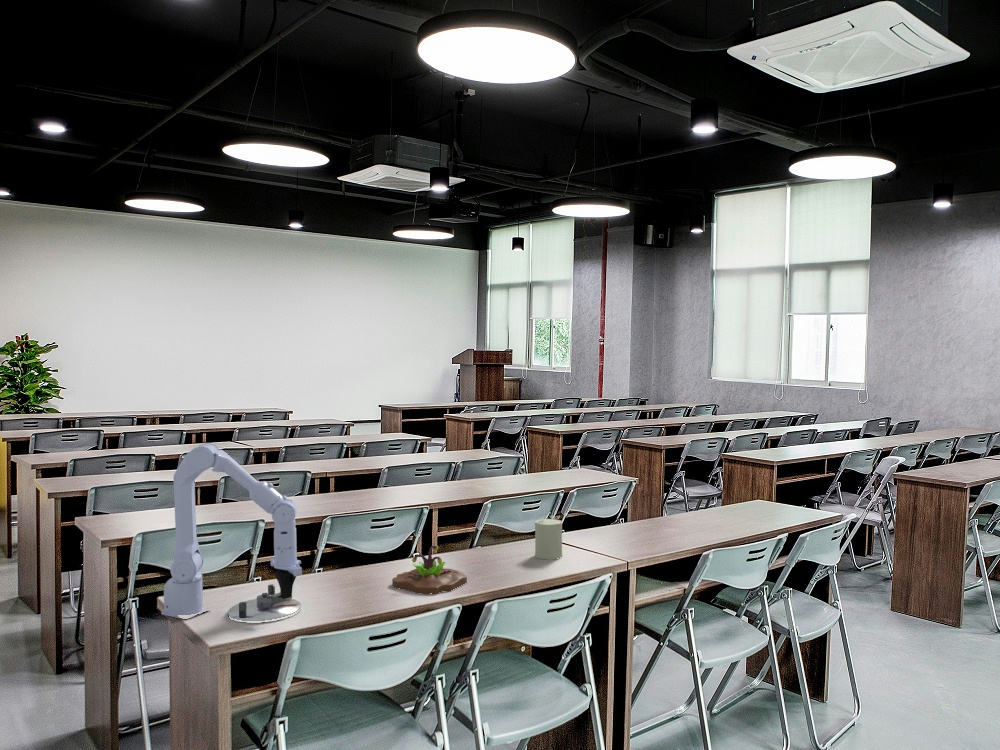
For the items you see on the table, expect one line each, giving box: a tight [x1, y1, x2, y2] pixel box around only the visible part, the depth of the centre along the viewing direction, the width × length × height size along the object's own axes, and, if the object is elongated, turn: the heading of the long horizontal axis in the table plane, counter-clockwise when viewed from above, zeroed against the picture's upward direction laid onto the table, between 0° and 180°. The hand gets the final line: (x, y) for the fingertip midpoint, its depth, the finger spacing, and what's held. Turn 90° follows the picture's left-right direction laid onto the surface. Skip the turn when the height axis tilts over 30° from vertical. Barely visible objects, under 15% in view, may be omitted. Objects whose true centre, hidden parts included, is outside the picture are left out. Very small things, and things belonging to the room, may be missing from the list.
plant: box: [391, 544, 468, 595], centre depth 221 cm, size 20×20×11 cm
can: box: [534, 518, 564, 561], centre depth 251 cm, size 9×9×12 cm
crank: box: [256, 589, 293, 609], centre depth 199 cm, size 10×4×3 cm, turn 146°
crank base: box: [227, 584, 302, 621], centre depth 197 cm, size 18×18×5 cm
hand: (286, 597), depth 200 cm, fingers closed, pressing on crank
